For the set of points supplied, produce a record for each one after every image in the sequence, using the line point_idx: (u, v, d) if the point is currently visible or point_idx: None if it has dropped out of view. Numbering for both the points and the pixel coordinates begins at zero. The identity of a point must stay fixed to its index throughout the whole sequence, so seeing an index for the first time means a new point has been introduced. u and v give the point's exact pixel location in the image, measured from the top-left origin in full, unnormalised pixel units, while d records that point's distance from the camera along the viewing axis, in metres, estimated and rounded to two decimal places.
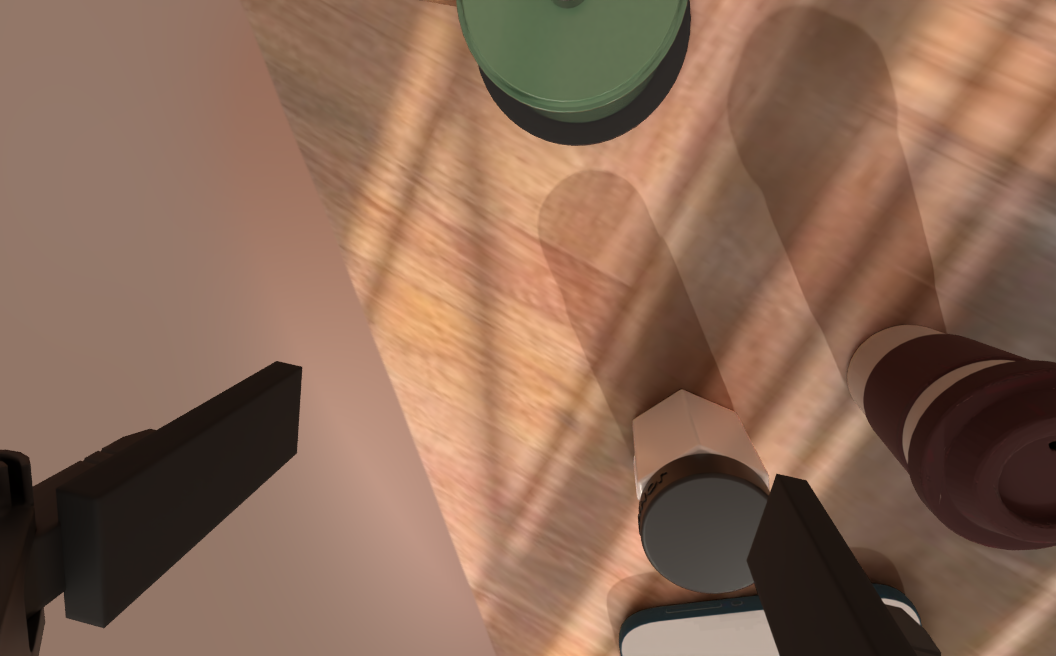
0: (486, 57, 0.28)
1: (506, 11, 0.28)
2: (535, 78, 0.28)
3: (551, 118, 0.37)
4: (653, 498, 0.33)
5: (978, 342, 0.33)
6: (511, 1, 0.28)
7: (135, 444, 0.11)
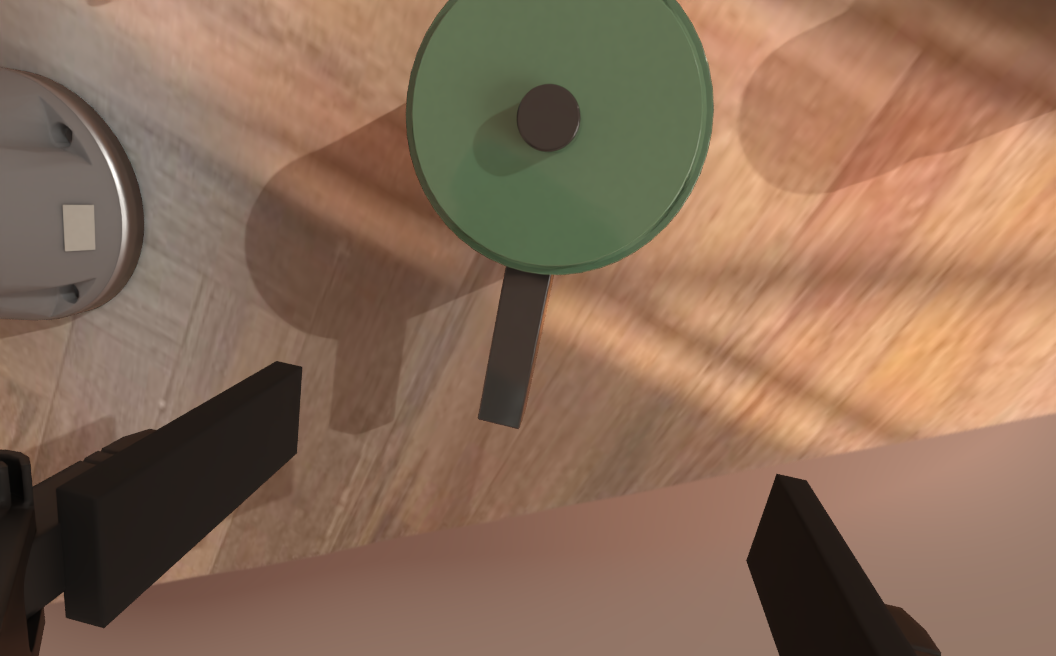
0: (633, 237, 0.21)
1: (579, 207, 0.21)
2: (665, 168, 0.20)
3: None
4: None
5: None
6: (568, 200, 0.21)
7: (135, 444, 0.11)
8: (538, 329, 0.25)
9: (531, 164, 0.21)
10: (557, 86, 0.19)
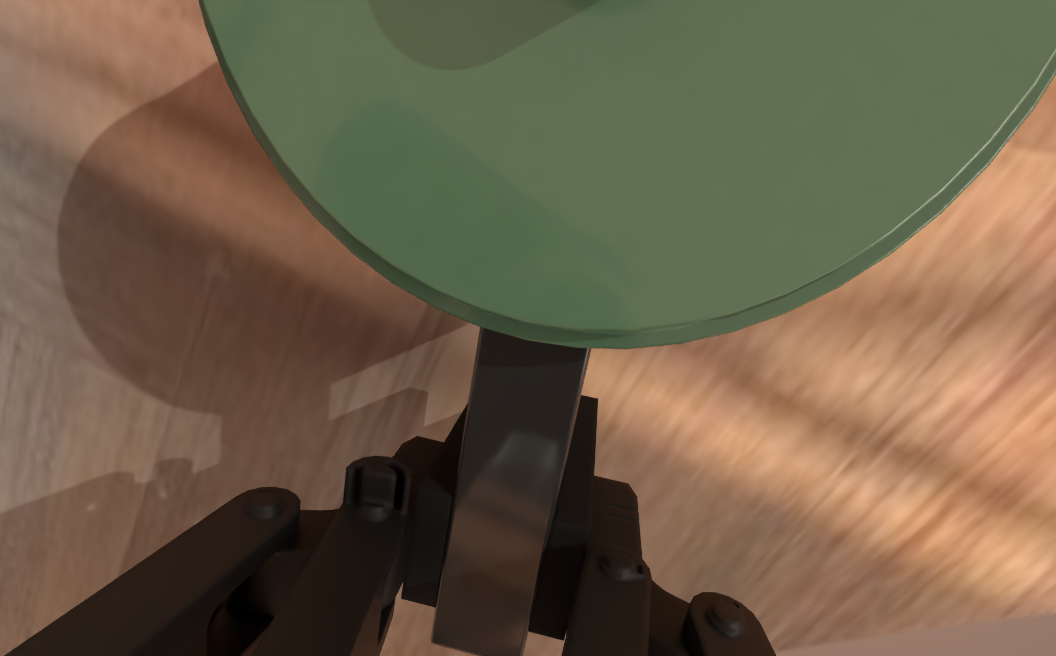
0: (855, 247, 0.07)
1: (692, 159, 0.07)
2: (989, 21, 0.06)
3: None
4: None
5: None
6: (657, 137, 0.07)
7: (441, 450, 0.13)
8: (562, 463, 0.10)
9: (544, 27, 0.07)
10: None
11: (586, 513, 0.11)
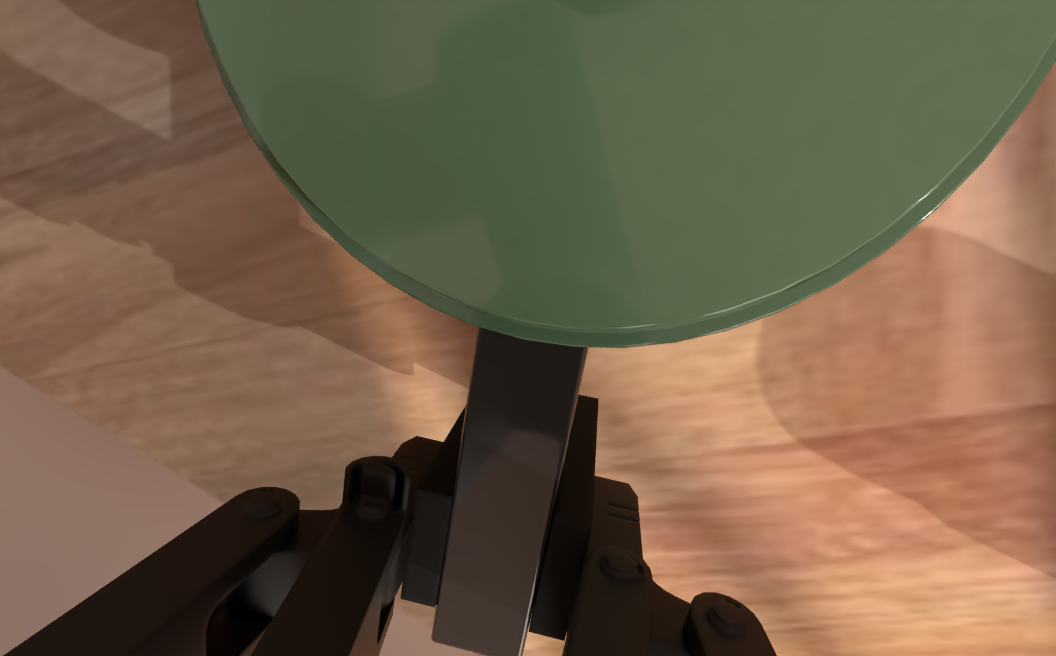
0: (848, 245, 0.07)
1: (685, 158, 0.07)
2: (981, 18, 0.06)
3: None
4: None
5: None
6: (651, 137, 0.07)
7: (441, 450, 0.13)
8: (560, 462, 0.10)
9: (537, 28, 0.07)
10: None
11: (587, 513, 0.11)
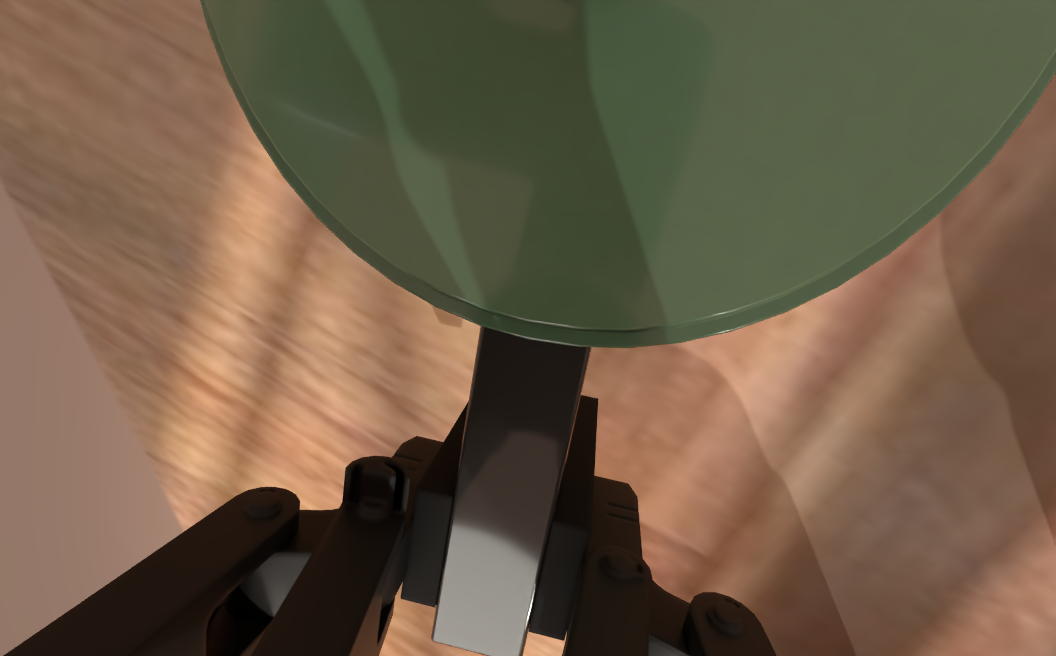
0: (854, 246, 0.07)
1: (691, 159, 0.07)
2: (987, 21, 0.06)
3: None
4: None
5: None
6: (658, 137, 0.07)
7: (441, 450, 0.13)
8: (562, 462, 0.10)
9: (545, 27, 0.07)
10: None
11: (587, 513, 0.11)
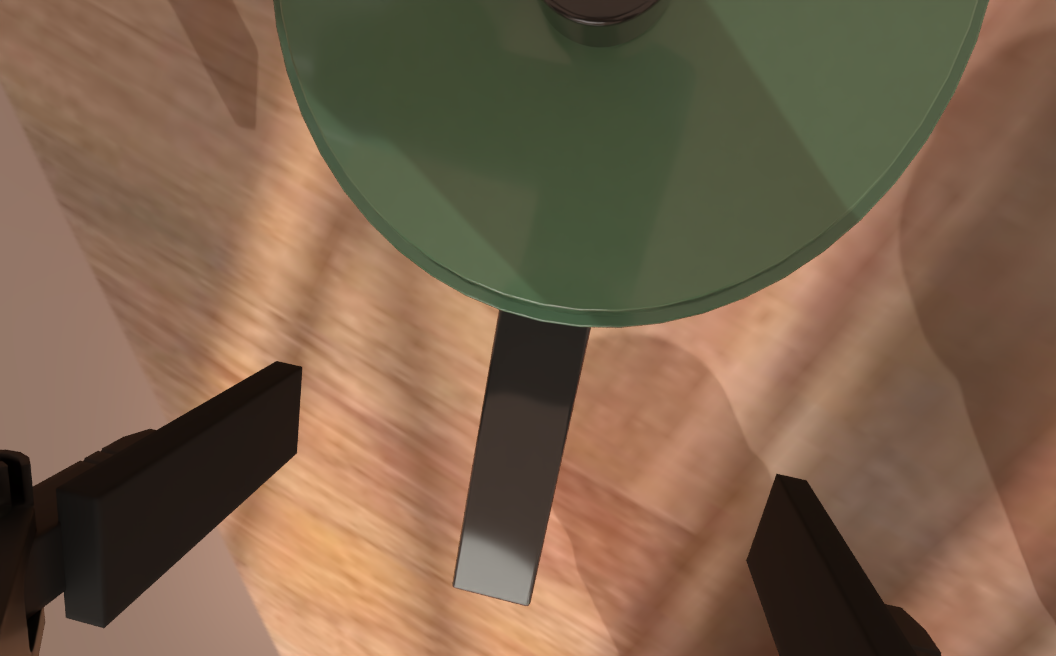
0: (792, 245, 0.09)
1: (667, 178, 0.09)
2: (884, 77, 0.08)
3: None
4: None
5: None
6: (641, 161, 0.09)
7: (135, 444, 0.11)
8: (565, 428, 0.13)
9: (555, 78, 0.09)
10: None
11: None
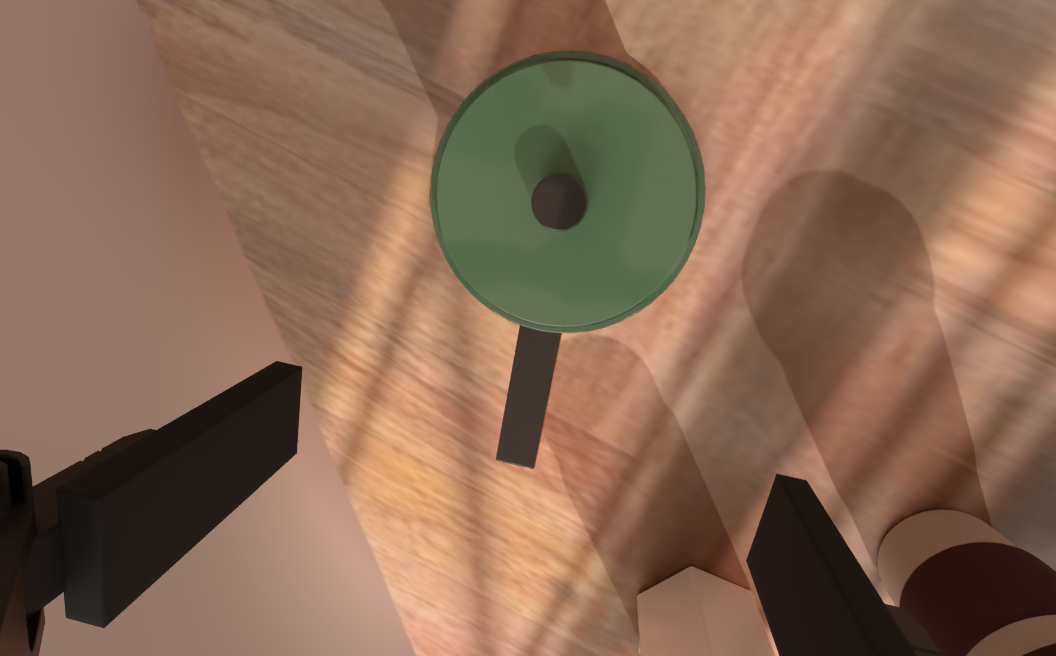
0: (635, 301, 0.24)
1: (587, 275, 0.24)
2: (663, 242, 0.23)
3: None
4: None
5: (1035, 565, 0.29)
6: (577, 269, 0.24)
7: (135, 444, 0.11)
8: (550, 379, 0.27)
9: (544, 238, 0.23)
10: (567, 175, 0.21)
11: None
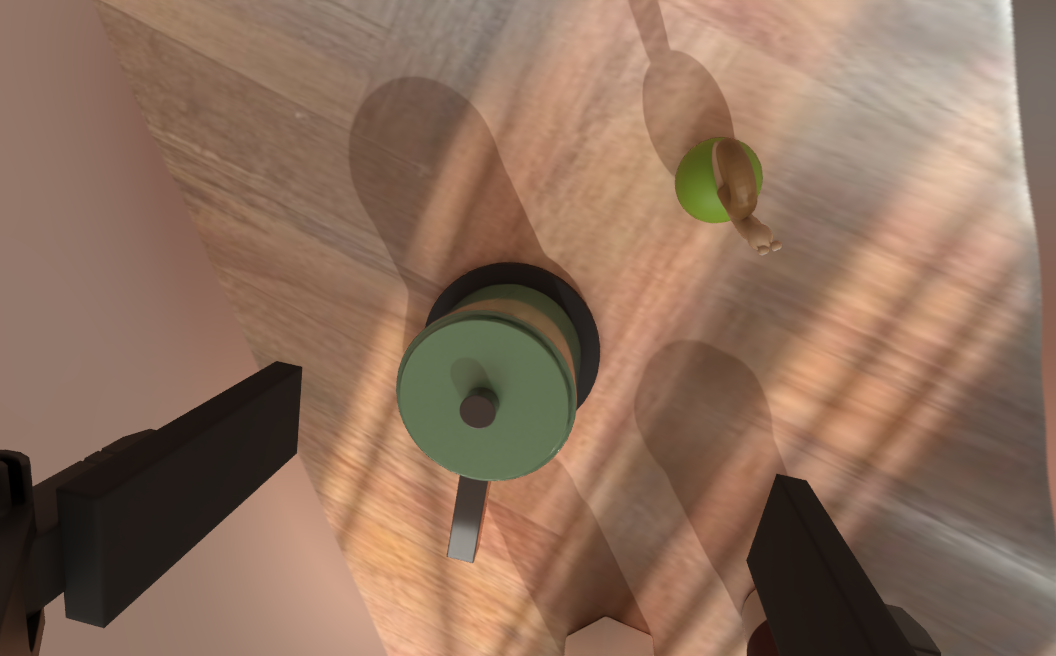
0: (533, 466, 0.35)
1: (500, 449, 0.35)
2: (549, 431, 0.35)
3: None
4: None
5: None
6: (493, 445, 0.35)
7: (135, 444, 0.11)
8: (482, 504, 0.39)
9: None
10: (481, 397, 0.33)
11: None
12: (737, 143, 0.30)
